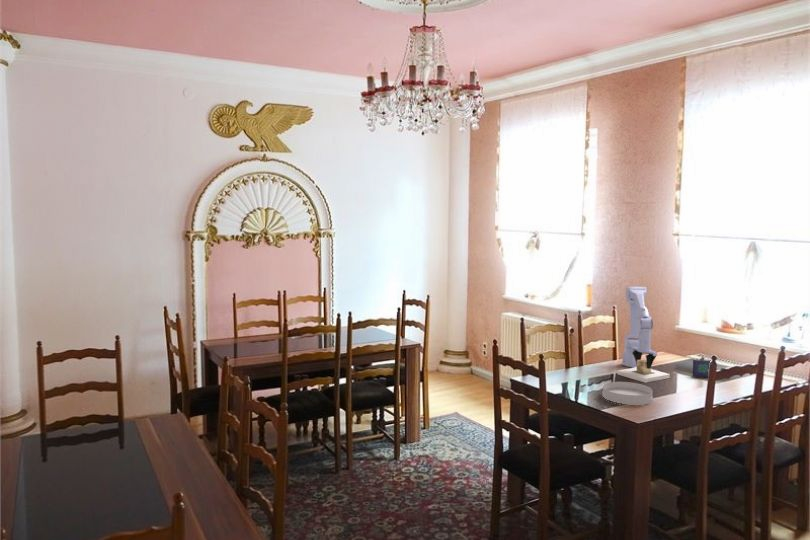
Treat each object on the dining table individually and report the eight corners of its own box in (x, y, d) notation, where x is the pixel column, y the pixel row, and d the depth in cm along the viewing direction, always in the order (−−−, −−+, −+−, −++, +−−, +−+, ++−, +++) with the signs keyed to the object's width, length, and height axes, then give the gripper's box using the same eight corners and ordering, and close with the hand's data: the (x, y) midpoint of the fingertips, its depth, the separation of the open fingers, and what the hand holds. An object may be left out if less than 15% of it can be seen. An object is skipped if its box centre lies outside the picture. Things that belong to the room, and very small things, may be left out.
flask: (709, 375, 334) (710, 355, 332) (712, 377, 331) (713, 357, 329) (691, 375, 334) (692, 355, 333) (693, 377, 331) (694, 357, 330)
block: (636, 371, 334) (636, 360, 333) (643, 370, 336) (643, 359, 336) (644, 373, 330) (644, 362, 329) (651, 372, 332) (651, 361, 331)
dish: (612, 389, 311) (613, 379, 310) (659, 397, 297) (659, 387, 296) (594, 399, 294) (594, 389, 293) (642, 409, 280) (643, 398, 279)
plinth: (617, 374, 337) (617, 370, 336) (641, 370, 345) (641, 366, 345) (645, 382, 321) (645, 378, 321) (669, 378, 329) (669, 373, 329)
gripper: (628, 339, 336) (627, 364, 337) (650, 344, 323) (649, 371, 324) (637, 337, 339) (636, 363, 340) (660, 343, 326) (659, 369, 328)
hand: (643, 366), depth 333 cm, fingers open, 6 cm apart
